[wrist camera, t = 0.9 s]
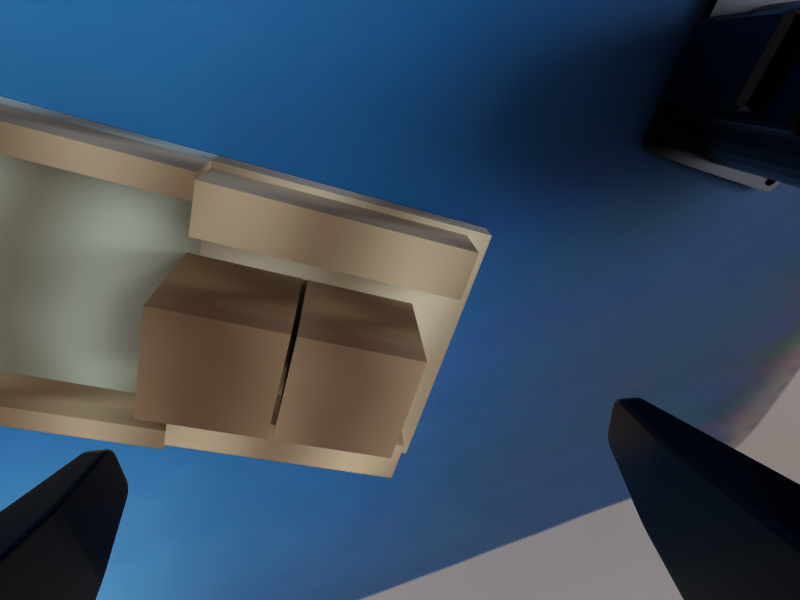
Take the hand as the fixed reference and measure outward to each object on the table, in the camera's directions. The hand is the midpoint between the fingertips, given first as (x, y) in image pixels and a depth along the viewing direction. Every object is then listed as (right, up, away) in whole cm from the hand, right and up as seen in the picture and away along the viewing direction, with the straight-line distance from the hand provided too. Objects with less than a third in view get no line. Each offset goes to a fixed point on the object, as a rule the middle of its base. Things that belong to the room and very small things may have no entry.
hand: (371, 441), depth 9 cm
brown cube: (-2, +1, +12) cm, 12 cm away
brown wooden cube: (-6, +2, +11) cm, 13 cm away
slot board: (-9, +3, +12) cm, 15 cm away
